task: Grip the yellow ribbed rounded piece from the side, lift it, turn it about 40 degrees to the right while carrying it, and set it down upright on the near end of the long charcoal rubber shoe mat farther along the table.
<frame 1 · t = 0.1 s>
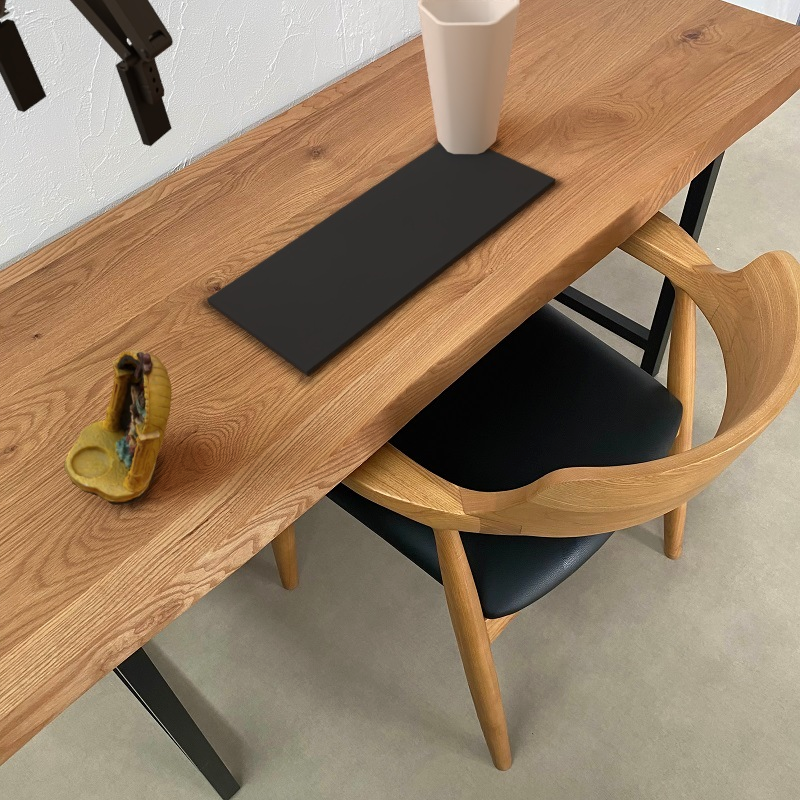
hand: (93, 119, 66), 24 cm above the table, tool pointing down, fingers open, 13 cm apart
cup: (466, 140, 101), point 1 cm above the table, touching shoe mat
shoe mat: (390, 241, 90), on the table
yellow ribbed rounded piece: (143, 473, 72), on the table
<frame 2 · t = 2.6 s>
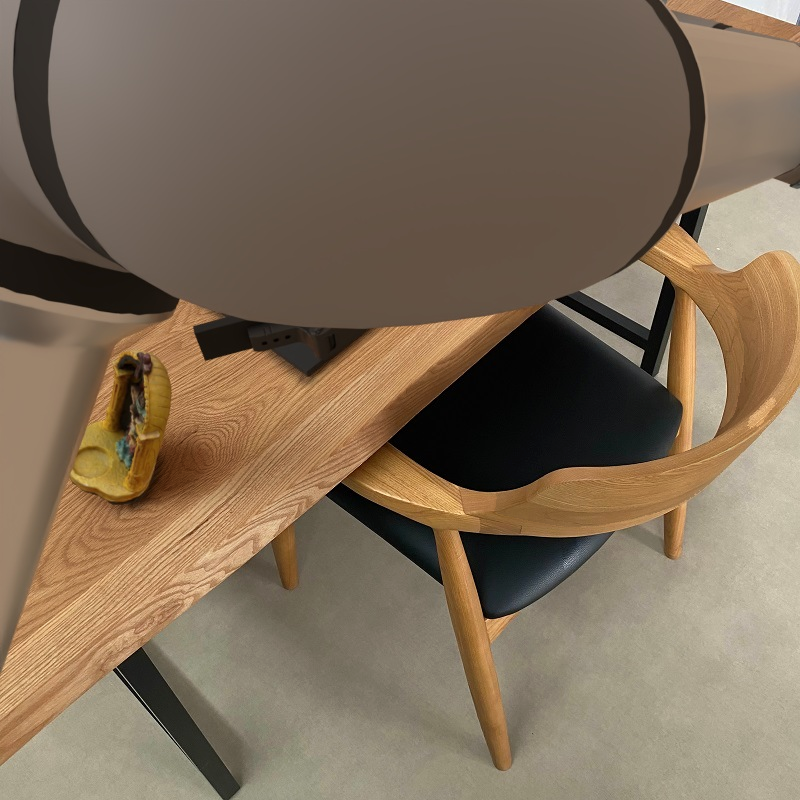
hand: (185, 279, 58), 20 cm above the table, tool horizontal, fingers open, 13 cm apart
nothing on the table moved.
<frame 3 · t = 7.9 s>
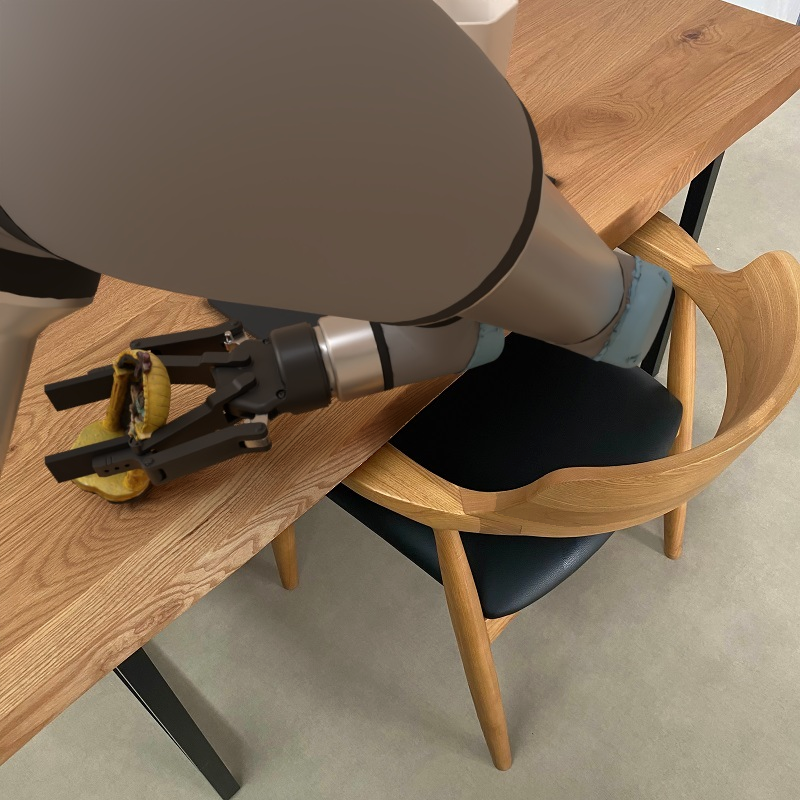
hand: (51, 432, 65), 8 cm above the table, tool horizontal, fingers closed on yellow ribbed rounded piece, 7 cm apart
yellow ribbed rounded piece: (143, 472, 72), on the table, touching gripper
everything else where it was.
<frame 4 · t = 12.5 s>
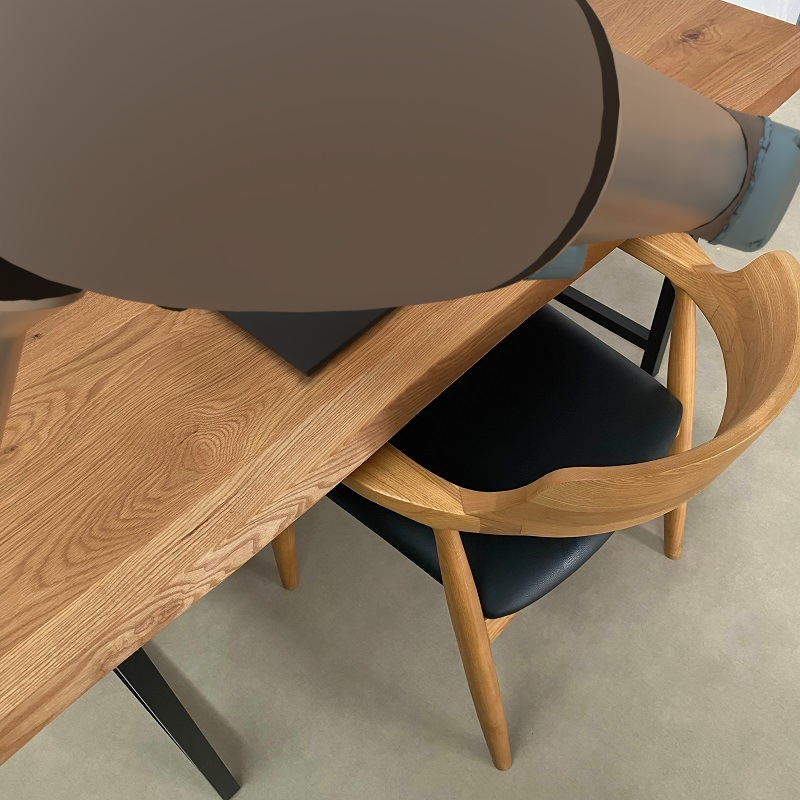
hand: (118, 215, 66), 18 cm above the table, tool horizontal, fingers closed on yellow ribbed rounded piece, 7 cm apart
yellow ribbed rounded piece: (199, 290, 72), point 10 cm above the table, touching gripper
everything else where it was.
when the fingers open (9 cm above the table, at t = 17.3 s): yellow ribbed rounded piece stays where it is, resting on shoe mat.
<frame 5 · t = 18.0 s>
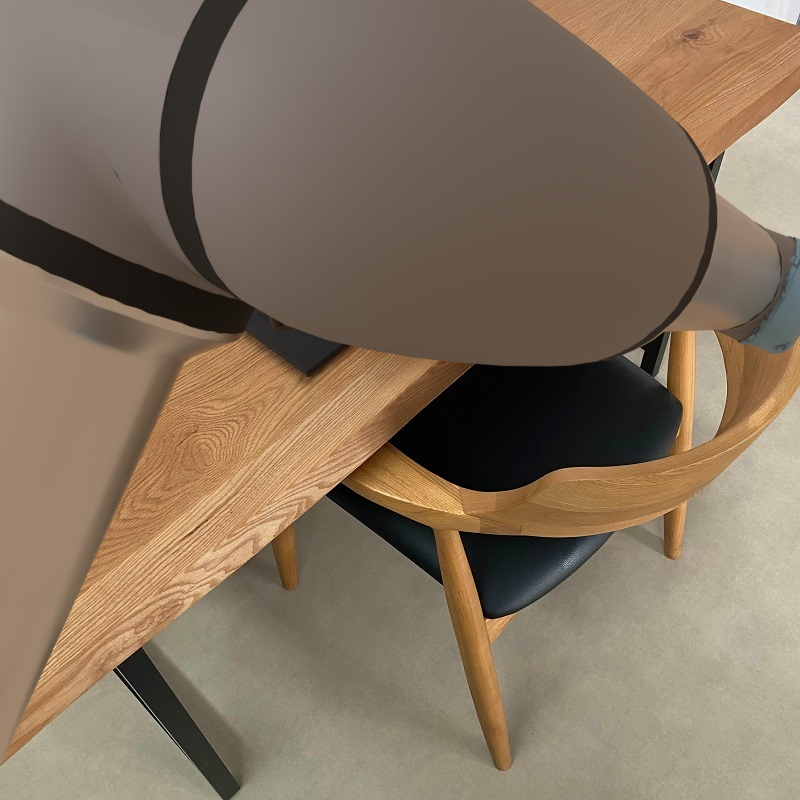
hand: (253, 231, 78), 9 cm above the table, tool horizontal, fingers open, 13 cm apart
yellow ribbed rounded piece: (297, 303, 84), point 1 cm above the table, touching shoe mat
everything else where it was.
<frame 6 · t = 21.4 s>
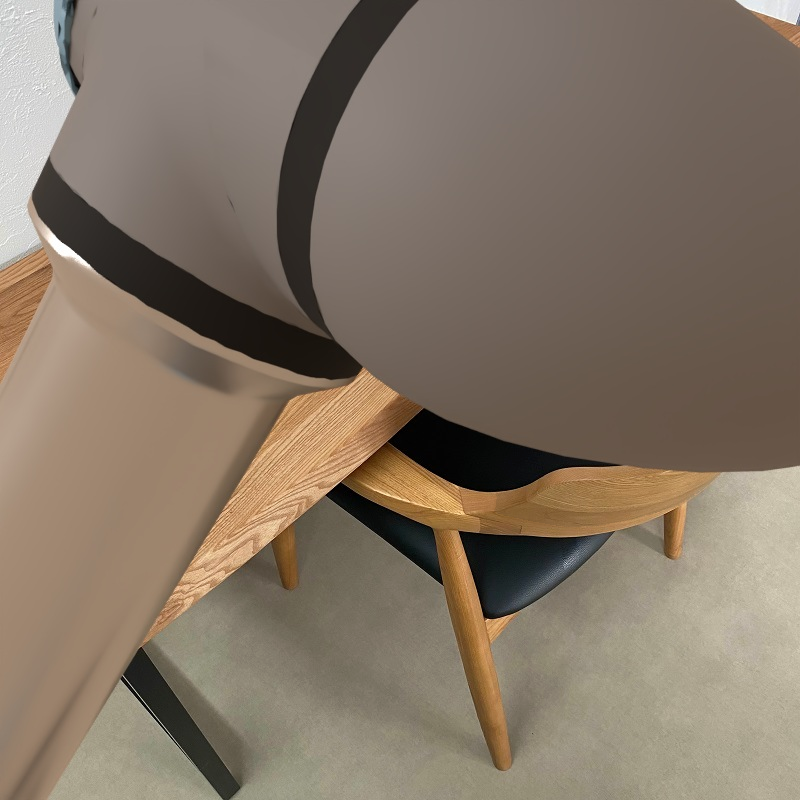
hand: (367, 221, 69), 15 cm above the table, tool horizontal, fingers open, 13 cm apart
nothing on the table moved.
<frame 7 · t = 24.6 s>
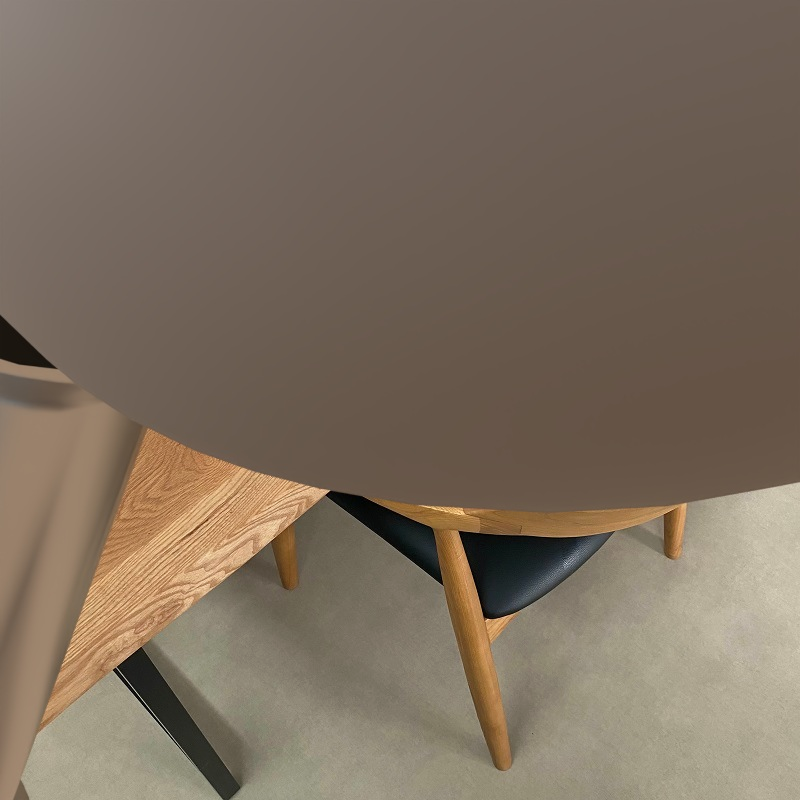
hand: (353, 100, 57), 28 cm above the table, tool horizontal, fingers open, 13 cm apart
nothing on the table moved.
at the end: yellow ribbed rounded piece inside the target area on the shoe mat (0.1 cm from its centre), point 0.6 cm above the shoe mat's base; yellow ribbed rounded piece tilted 0°; yellow ribbed rounded piece moved 24.0 cm from its start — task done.
